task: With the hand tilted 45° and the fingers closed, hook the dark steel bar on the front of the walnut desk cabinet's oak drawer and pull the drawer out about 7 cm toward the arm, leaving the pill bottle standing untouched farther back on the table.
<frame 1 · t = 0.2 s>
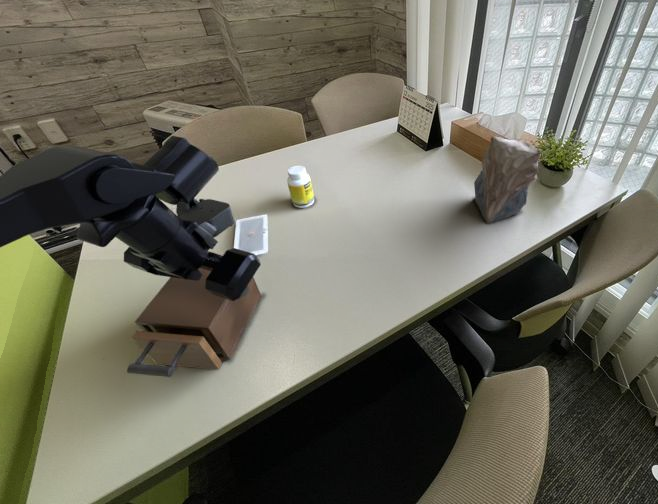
hand: (222, 285, 52), 16 cm above the table, tool pointing down, fingers open, 9 cm apart
cabinet: (216, 322, 64), on the table
pill bottle: (304, 202, 95), on the table
touchpad: (252, 239, 83), on the table
brown grey rock: (493, 209, 92), on the table
drawer: (190, 332, 57), point 5 cm above the table, slide at 1.0 cm
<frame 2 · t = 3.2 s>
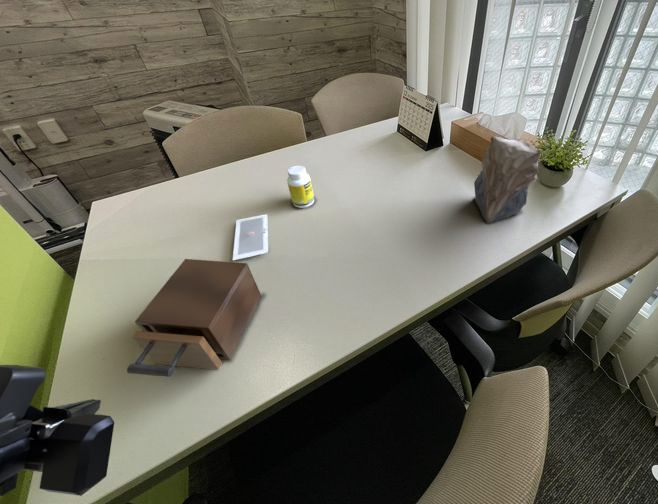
hand: (96, 403, 40), 14 cm above the table, tool tilted 45°, fingers closed
nothing on the table moved.
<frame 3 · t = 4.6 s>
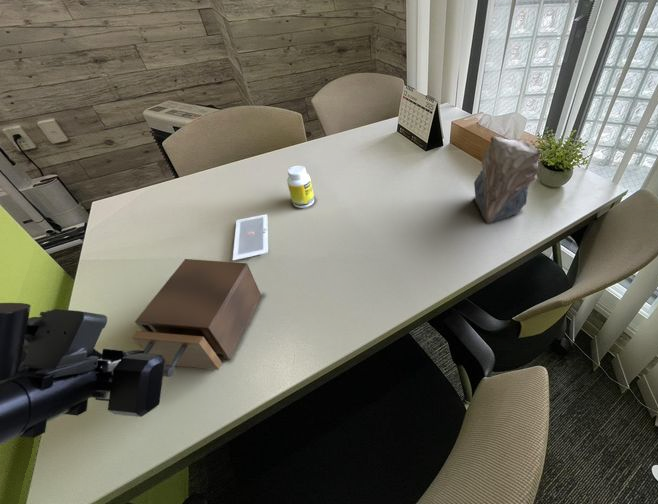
hand: (141, 353, 47), 12 cm above the table, tool tilted 45°, fingers closed
nothing on the table moved.
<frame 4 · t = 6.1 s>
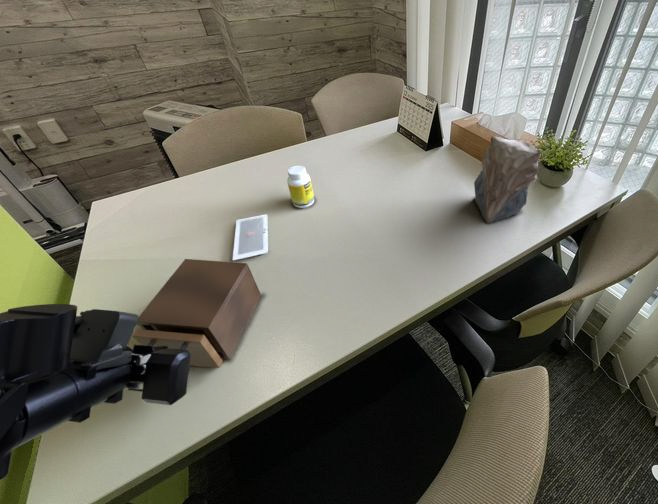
hand: (165, 349, 51), 8 cm above the table, tool tilted 45°, fingers closed, pressing on drawer
drawer: (191, 331, 57), point 5 cm above the table, slide at 0.7 cm, touching gripper
everything else where it was.
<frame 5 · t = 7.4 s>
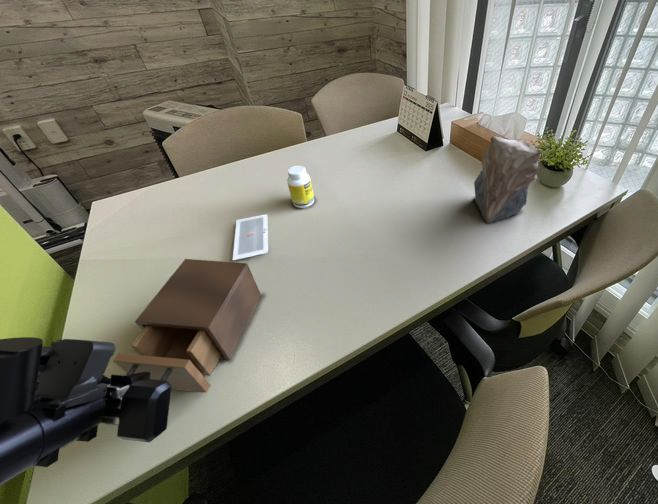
hand: (147, 375, 48), 8 cm above the table, tool tilted 45°, fingers closed, pressing on drawer
drawer: (177, 353, 54), point 5 cm above the table, slide at 4.7 cm, touching gripper
everything else where it was.
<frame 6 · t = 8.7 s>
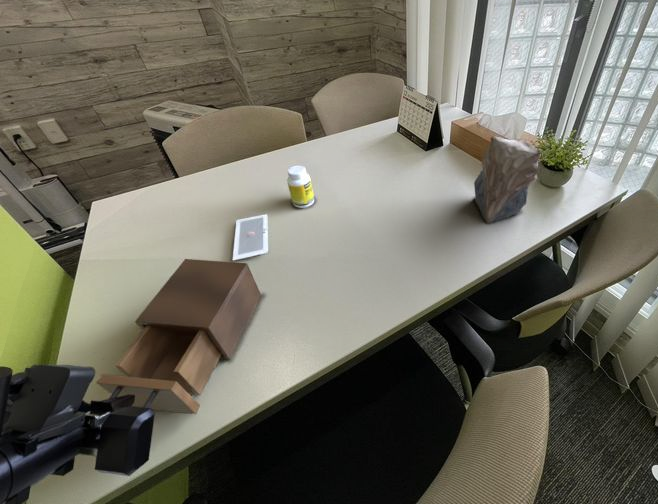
hand: (132, 398, 46), 8 cm above the table, tool tilted 45°, fingers closed
drawer: (165, 372, 51), point 5 cm above the table, slide at 7.8 cm
everything else where it was.
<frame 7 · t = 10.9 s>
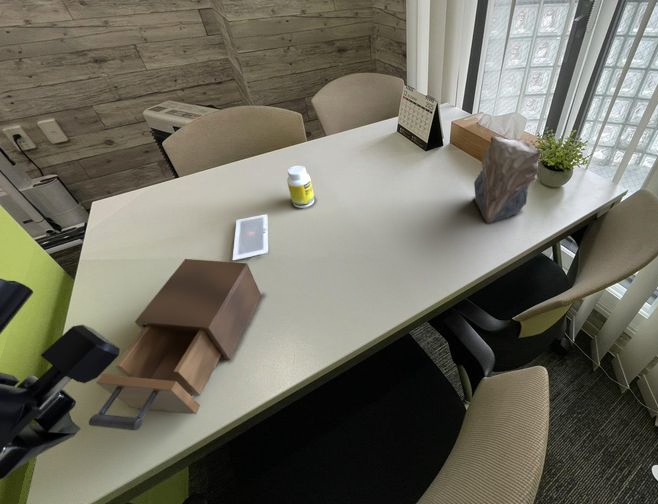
hand: (75, 430, 39), 13 cm above the table, tool pointing down, fingers closed
nothing on the table moved.
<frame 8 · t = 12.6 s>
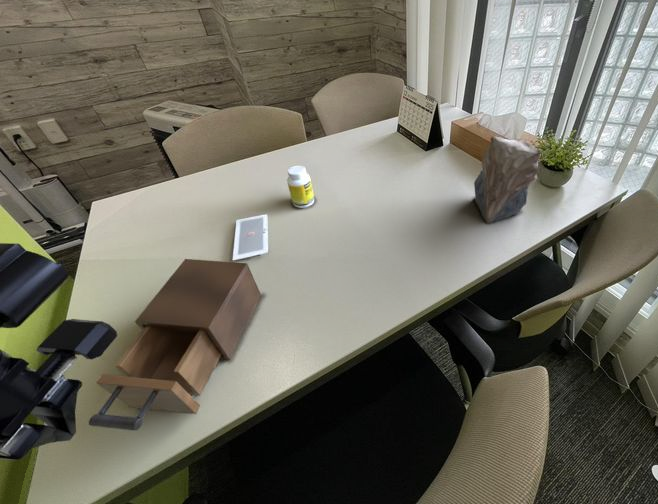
hand: (69, 436, 38), 13 cm above the table, tool pointing down, fingers closed
nothing on the table moved.
at the end: drawer slide at 7.8 cm; pill bottle moved 0.2 cm from its start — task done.
